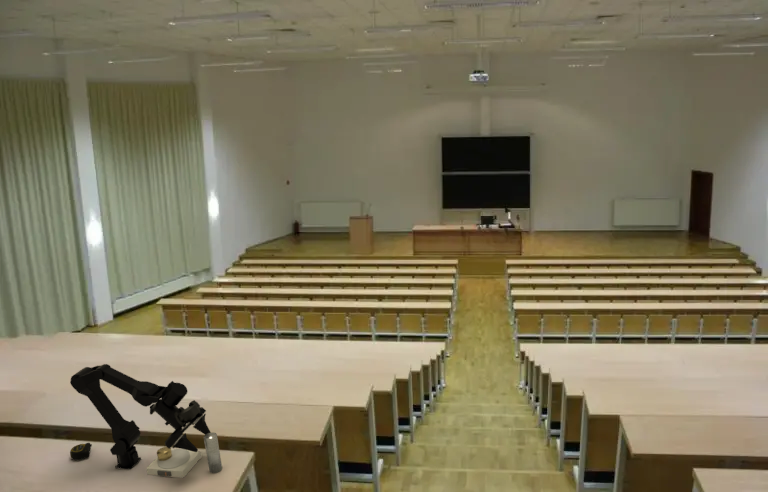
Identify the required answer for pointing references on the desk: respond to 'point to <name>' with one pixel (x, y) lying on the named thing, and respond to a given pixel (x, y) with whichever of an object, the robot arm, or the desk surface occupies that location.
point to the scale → (175, 464)
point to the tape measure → (80, 451)
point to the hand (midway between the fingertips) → (204, 443)
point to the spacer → (212, 452)
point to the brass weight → (164, 454)
